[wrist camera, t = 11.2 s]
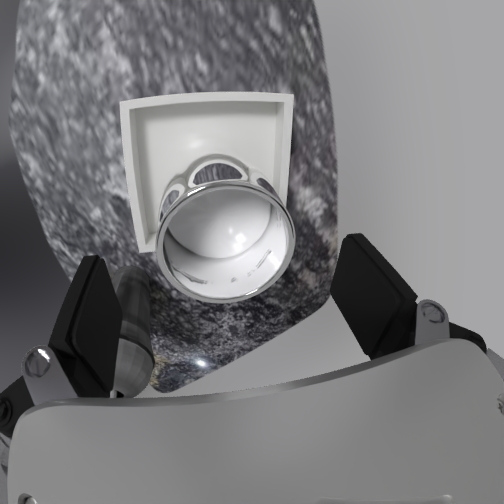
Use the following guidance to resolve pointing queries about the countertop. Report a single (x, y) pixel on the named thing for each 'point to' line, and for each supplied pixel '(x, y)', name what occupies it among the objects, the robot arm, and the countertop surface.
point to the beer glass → (221, 226)
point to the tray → (194, 127)
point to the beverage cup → (133, 333)
